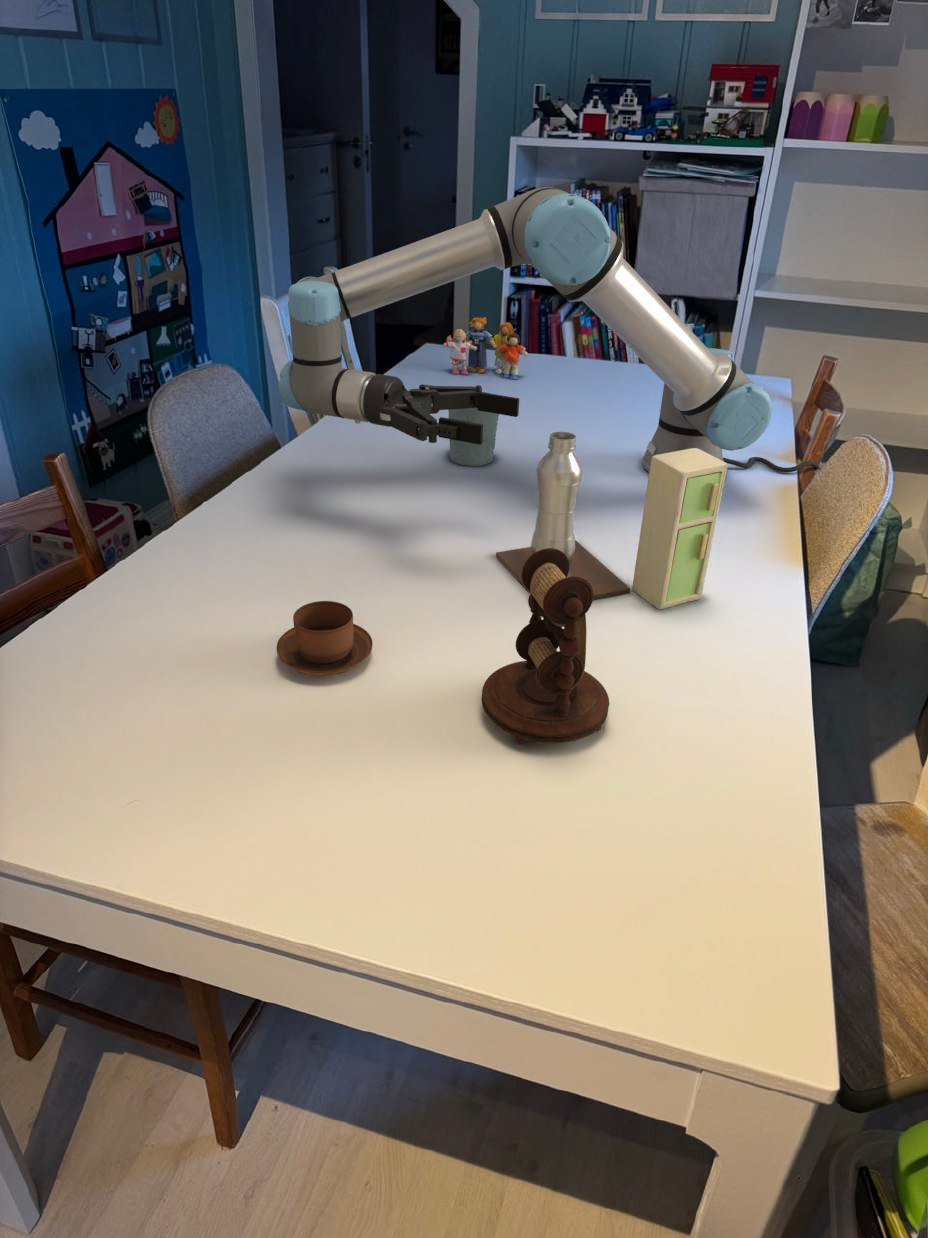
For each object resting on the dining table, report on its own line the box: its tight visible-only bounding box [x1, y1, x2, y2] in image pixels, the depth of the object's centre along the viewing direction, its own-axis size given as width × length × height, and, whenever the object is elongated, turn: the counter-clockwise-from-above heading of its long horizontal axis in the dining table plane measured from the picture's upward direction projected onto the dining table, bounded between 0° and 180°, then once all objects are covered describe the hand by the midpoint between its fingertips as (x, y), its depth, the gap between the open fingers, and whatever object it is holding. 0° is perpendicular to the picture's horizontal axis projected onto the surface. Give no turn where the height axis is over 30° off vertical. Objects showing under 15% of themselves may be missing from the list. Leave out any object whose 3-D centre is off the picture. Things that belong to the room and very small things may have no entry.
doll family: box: [443, 316, 528, 380], centre depth 223 cm, size 21×10×13 cm, turn 80°
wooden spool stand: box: [481, 548, 610, 746], centre depth 99 cm, size 15×15×20 cm
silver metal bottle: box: [530, 431, 583, 561], centre depth 130 cm, size 6×7×20 cm
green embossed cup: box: [447, 391, 500, 467], centre depth 171 cm, size 10×10×12 cm
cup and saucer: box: [275, 600, 374, 676], centre depth 111 cm, size 12×12×6 cm
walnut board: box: [495, 539, 631, 601], centre depth 133 cm, size 14×17×1 cm
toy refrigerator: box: [631, 448, 728, 610], centre depth 123 cm, size 8×7×21 cm
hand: (500, 420), depth 128 cm, fingers open, 13 cm apart
